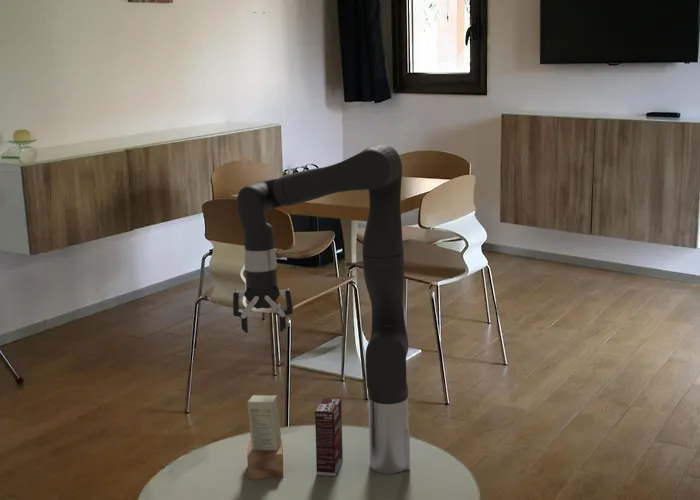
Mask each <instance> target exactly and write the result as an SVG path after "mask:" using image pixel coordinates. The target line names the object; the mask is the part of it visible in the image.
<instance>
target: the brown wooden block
mask: <svg viewBox="0 0 700 500" xmlns="http://www.w3.org/2000/svg"><path fill="white" fill-rule="evenodd" d="M247 443H248V444H247V454H246V458H247V459H246V460H247V474H248V475H247V476H248V477H247V478H248V480H260V479H274V478H275V479H276V478H277V479H278V478H279V479H280V478H284V452H283V451H284V450H283V445H284V444H283V438H281V445H280V446H279V448H278V450H277V451H270V450H252V443H251V440H248V442H247Z"/></svg>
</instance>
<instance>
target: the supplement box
mask: <svg viewBox="0 0 700 500" xmlns="http://www.w3.org/2000/svg"><path fill="white" fill-rule="evenodd" d="M342 413H343V412H342V398H332V397H323V398H322V400H321V402H320V403H319V405H318V407H317V408H316V410H315V411H314V416H315V417H314V419H315V420H314V421H315V422H314V423H315V425H314V426H315V452H316V453H315V455H316V456H315V457H316V460H315V461H316V465H315V466H316V468H315V469H316V475H318V476H327V477H328V476H329V477H336V476H337V473H338V471H339V468H340V466H341V464H342V463H343V461H344V459H343V458H344V457H343V454H344V453H343V419H342Z"/></svg>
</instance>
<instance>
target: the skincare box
mask: <svg viewBox="0 0 700 500" xmlns="http://www.w3.org/2000/svg"><path fill="white" fill-rule="evenodd" d="M247 409H248V410H247V412H248V418H249V419H248V421H249V429H250V430H249V431H250V441H251V443H252V450H270V451H277V450H278V448H279V446H280V445H281V439H282V435H281V434H282V433H281V424H280V421H281V420H280V413H279V412H280V410H279V400H278V395H274V394H272V395H271V394H270V395H269V394H265V395H264V394H260V395H259V394H258V395H257V394H253V395H252V396H251V397H250V398H249V399H248V400H247Z"/></svg>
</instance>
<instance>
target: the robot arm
mask: <svg viewBox="0 0 700 500" xmlns="http://www.w3.org/2000/svg"><path fill="white" fill-rule="evenodd" d="M402 179H403V165H402V159H401V156H400V154H399V152H398V151H397V150H396V149H395V148H394V147H392V146H391V145H389V144H377V145H374V146H371V147H367V148H365V149H363V150H362V151H360V152H359V153H357V154H354V155H352V156H351V157H349V158H345V160H341V161H340V162H337V163H334V164H331V165H328V166H327V165H326V166H324V167H316V168H311V169H305V170H301V171H297V172H294V173H290V174H286V175H282V176H281V177H278V178H274V179H270V180H269V179H268V180H264V181H260V182H256V183H253V184H249V185H245V186H244V187H242V188H241V189H240V190H239V191H238V194H237V198H236V210H237V215H238V217H239V221H240V224H241V228H242V230H243V234H244V235H243V236H244V237H243V238H244V241H243V242H244V257H243V259H244V276H245V290H244V291H243V290H238V289H235V290H234V291H233V294H232V300H233V301H232V306H233V307H232V315H233V316H234V317H239V318H240V321H241V330H242V331H244V333H245V334H248V333H249V316H248V315H249V313H250V312H251V311H252V310H253V308H255V309H256V310H257V309H262V308H263V309H270V308H271V307H272V308H273V310H274V311H275V312H276V313H277V314H278V315H279V318H278V319H279V332H280V333H282V332H283V333H284V330H286V327H287V321H286V317H287V316H288V315H293V311H294V307H293V299H292V297H293V296H292V290H291V288H290V287H286V288H285V289H279V286H278V270H277V265H278V262H277V256H276V250H275V235H274V234H275V233H274V228H273V225H272V224H270V223H268V222H267V221H266V217H265V213H266V212H268V211H271V210H274V209H277V208H281V207H290V206H294V205H299V204H303V203H306V202H310V201H314V200H317V199H319V198H323V197H326V196H330V195H333V194H337V193H344V192H349V191H364V190H365V191H366V190H368V198H369V209H368V216H367V221H366V226H365V230H364V233H363V239H362V240H363V241H362V267H363V277H364V282H365V286H366V291H367V293H368V297H369V301H370V304H371V333H370V338H369V340H368V342H367V345H366V348H365V378H366V379H365V380H366V381H365V382H366V388H367V392H368V393H367V394H368V396H367V397H368V398H367V399H368V435H369V436H368V441H369V466H370V468H371V469H372V470H373V471H375V472H377V473H380V474H387V475H388V474H389V475H390V474H397V473H402V472H403V471H409V470H411V447H410V445H411V443H410V440H411V439H410V438H411V437H410V436H411V435H410V433H411V432H410V429H409V386H408V384H407V356H408V352H409V339H408V333H407V327H406V321H405V314H404V291H405V259H404V255H405V254H404V245H403V244H404V243H403V227H402V226H403V225H402V214H401V212H402V210H401V198H402V197H401V194H402V192H401V191H402ZM280 296H281V297H282V298H283V299H285V301H286V308H284V307H283V306H282V305H281V304H280V302H279V301H278V299H279V297H280ZM243 297H245V299H246V300H247V301H248V303H247V304H246V306H245V308H243V310H241V309H240V301H241V300H242V299H243Z"/></svg>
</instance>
